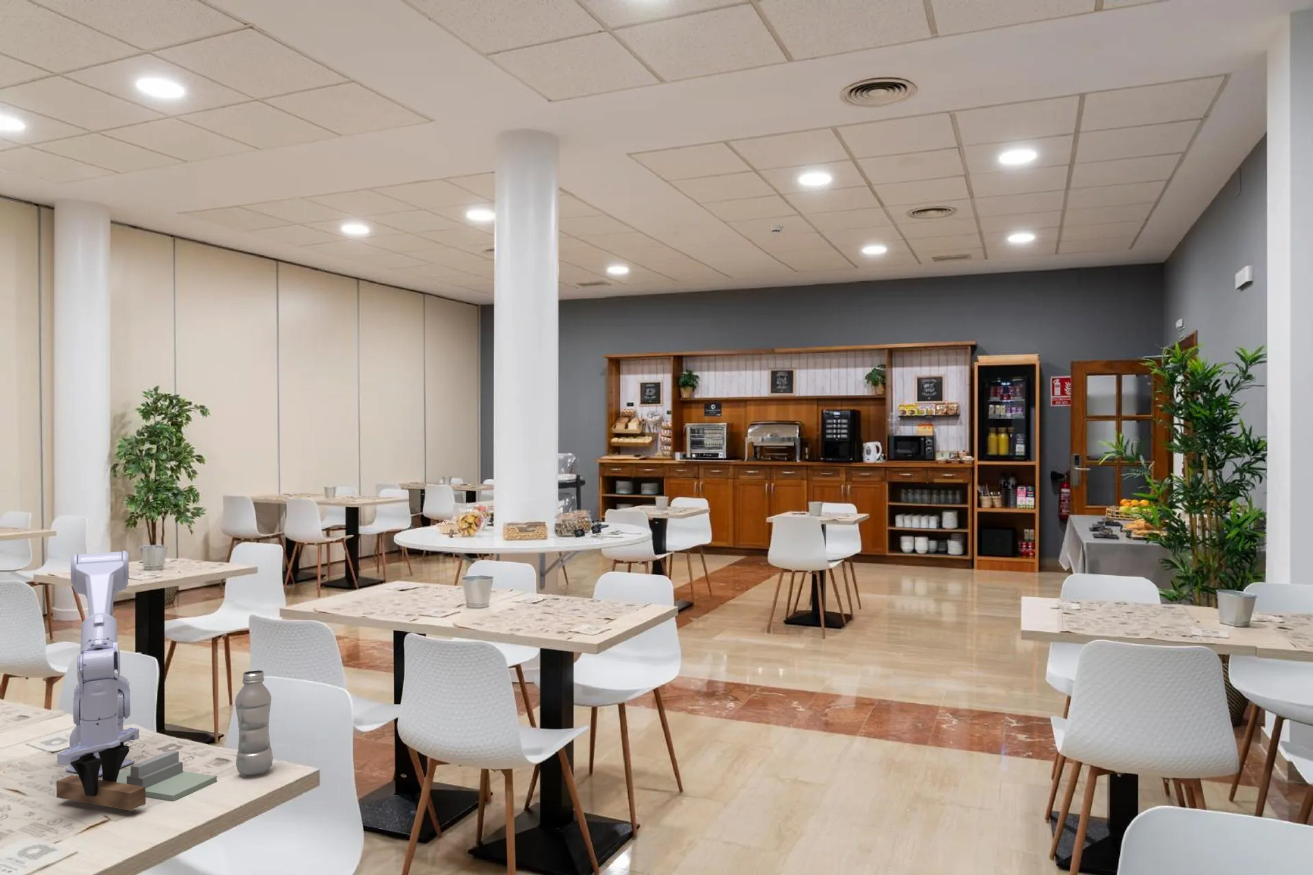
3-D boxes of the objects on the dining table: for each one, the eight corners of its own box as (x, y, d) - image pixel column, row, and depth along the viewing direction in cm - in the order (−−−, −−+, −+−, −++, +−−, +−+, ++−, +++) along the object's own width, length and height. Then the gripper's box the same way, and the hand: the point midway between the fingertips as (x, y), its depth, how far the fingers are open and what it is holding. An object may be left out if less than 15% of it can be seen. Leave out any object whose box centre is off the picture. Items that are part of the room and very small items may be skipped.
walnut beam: (56, 797, 164) (56, 780, 164) (72, 791, 166) (72, 774, 166) (130, 810, 158) (130, 793, 158) (145, 803, 160) (145, 786, 160)
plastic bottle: (271, 777, 176) (269, 674, 176) (233, 781, 174) (232, 677, 174) (275, 765, 182) (273, 666, 182) (238, 769, 180) (237, 669, 180)
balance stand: (93, 787, 171) (92, 761, 171) (139, 769, 181) (138, 744, 181) (173, 800, 165) (172, 773, 165) (216, 781, 174) (216, 755, 174)
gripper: (77, 730, 154) (78, 810, 154) (151, 706, 167) (151, 779, 168) (48, 726, 156) (49, 804, 156) (122, 702, 170) (123, 774, 170)
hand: (100, 791), depth 162 cm, fingers closed on walnut beam, 3 cm apart
